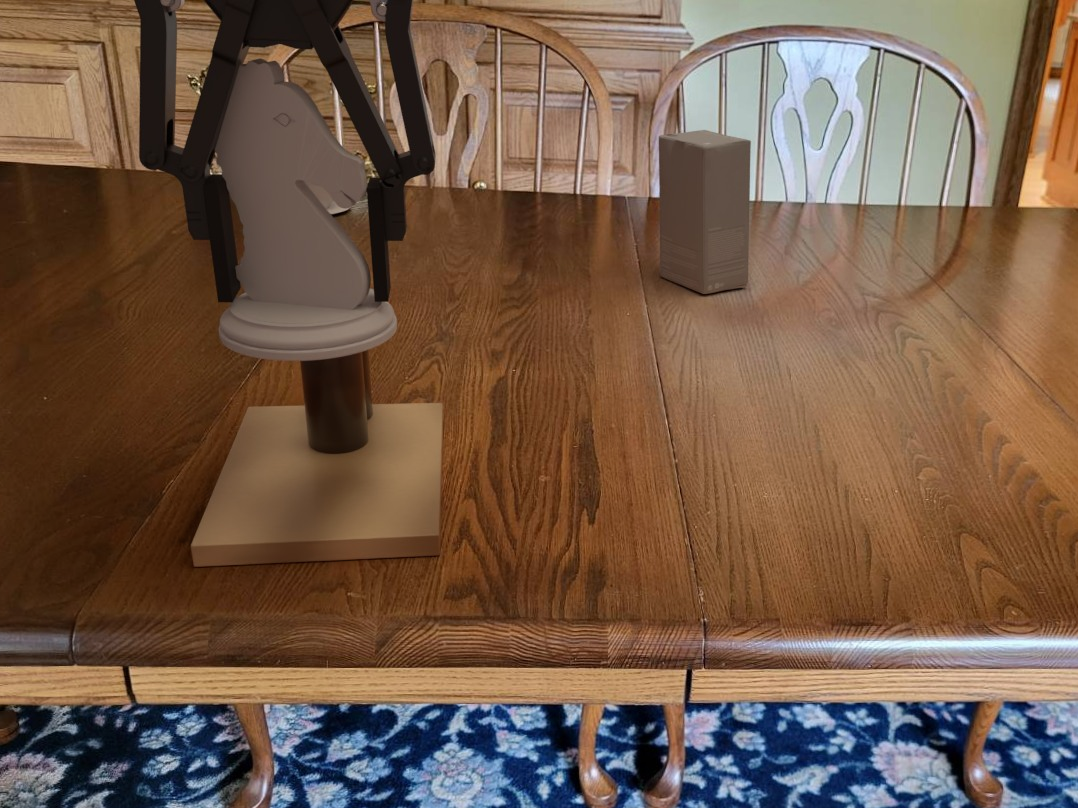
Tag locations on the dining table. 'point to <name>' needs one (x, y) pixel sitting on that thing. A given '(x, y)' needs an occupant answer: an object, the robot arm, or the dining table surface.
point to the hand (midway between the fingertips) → (307, 294)
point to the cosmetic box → (704, 210)
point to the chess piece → (293, 228)
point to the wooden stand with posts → (328, 477)
